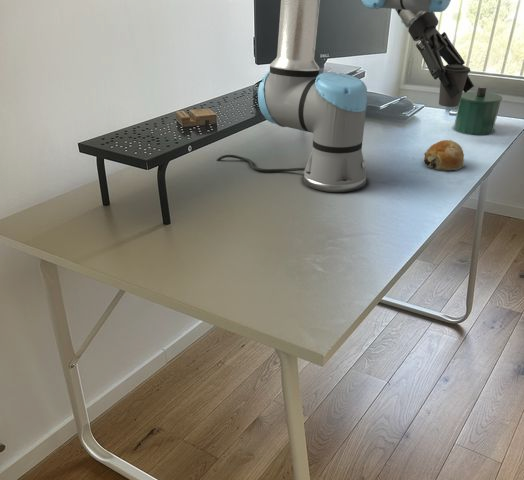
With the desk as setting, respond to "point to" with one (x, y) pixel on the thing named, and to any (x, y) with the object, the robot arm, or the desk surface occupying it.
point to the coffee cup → (459, 77)
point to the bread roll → (444, 156)
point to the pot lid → (481, 96)
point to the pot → (476, 117)
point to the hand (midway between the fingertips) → (462, 92)
